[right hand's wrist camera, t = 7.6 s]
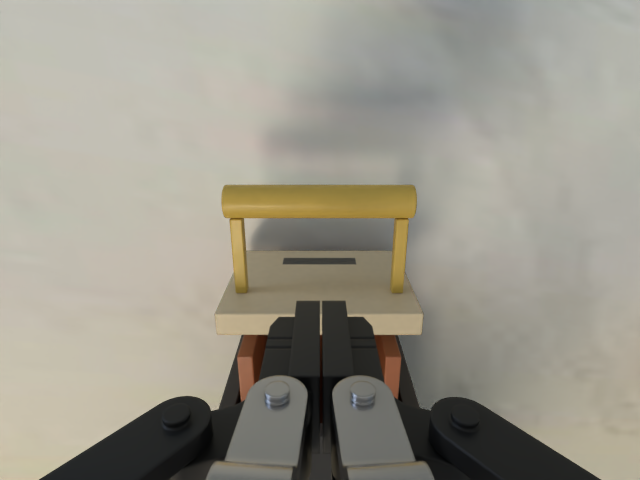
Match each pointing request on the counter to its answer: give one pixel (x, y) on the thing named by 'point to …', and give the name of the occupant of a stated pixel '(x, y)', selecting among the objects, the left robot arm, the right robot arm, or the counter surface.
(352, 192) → the drawer
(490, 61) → the counter surface
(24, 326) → the counter surface
